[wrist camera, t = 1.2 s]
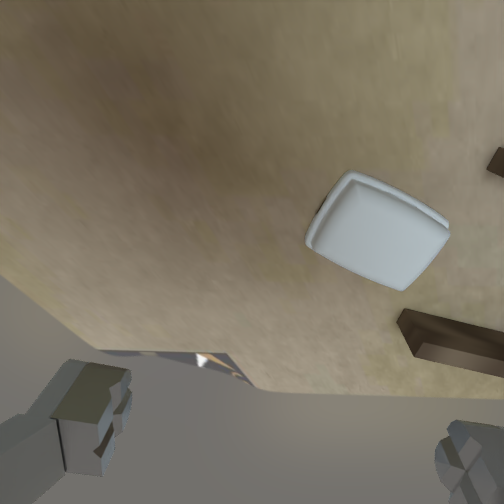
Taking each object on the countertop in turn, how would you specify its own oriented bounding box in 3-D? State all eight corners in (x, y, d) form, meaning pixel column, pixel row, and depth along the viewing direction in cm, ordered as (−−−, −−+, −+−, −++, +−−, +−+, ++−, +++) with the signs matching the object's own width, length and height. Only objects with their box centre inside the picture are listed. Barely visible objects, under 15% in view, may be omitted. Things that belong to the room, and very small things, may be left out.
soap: (452, 216, 25) (472, 233, 23) (394, 285, 28) (406, 307, 26) (346, 161, 24) (355, 172, 21) (297, 240, 27) (300, 259, 24)
